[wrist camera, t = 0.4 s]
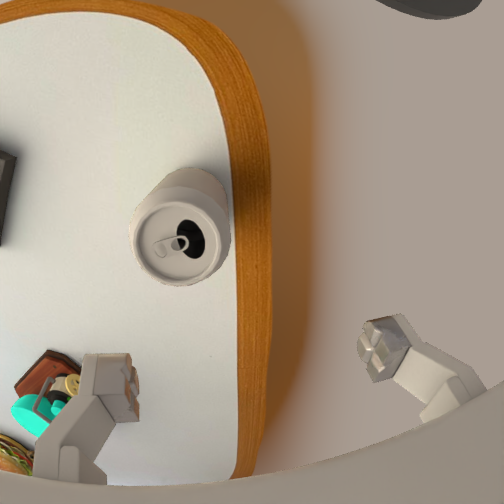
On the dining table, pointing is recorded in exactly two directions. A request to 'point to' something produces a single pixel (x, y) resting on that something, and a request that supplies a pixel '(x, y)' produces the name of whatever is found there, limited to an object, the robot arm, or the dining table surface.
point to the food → (14, 457)
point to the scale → (5, 182)
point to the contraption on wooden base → (45, 392)
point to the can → (182, 228)
